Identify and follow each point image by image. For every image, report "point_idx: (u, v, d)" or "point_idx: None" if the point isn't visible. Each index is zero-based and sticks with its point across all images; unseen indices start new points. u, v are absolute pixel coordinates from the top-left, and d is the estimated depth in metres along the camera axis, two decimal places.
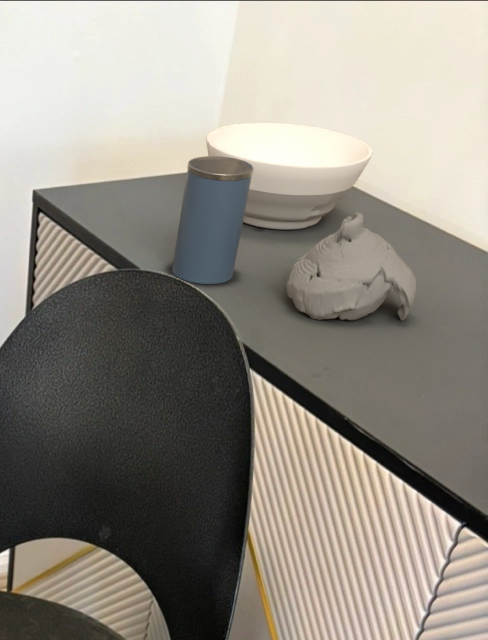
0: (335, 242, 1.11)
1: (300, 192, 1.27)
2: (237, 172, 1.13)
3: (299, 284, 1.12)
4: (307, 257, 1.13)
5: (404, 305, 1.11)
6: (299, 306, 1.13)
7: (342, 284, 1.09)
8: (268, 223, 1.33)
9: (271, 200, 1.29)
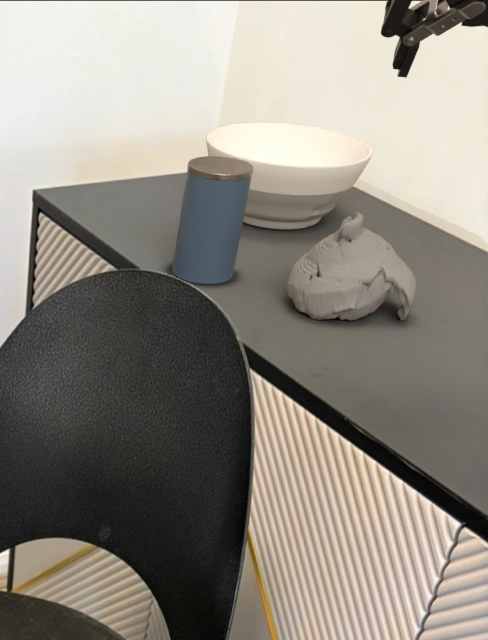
0: (335, 242, 1.11)
1: (300, 192, 1.27)
2: (237, 172, 1.13)
3: (299, 284, 1.12)
4: (307, 257, 1.13)
5: (404, 305, 1.11)
6: (299, 306, 1.13)
7: (342, 284, 1.09)
8: (268, 223, 1.33)
9: (271, 200, 1.29)
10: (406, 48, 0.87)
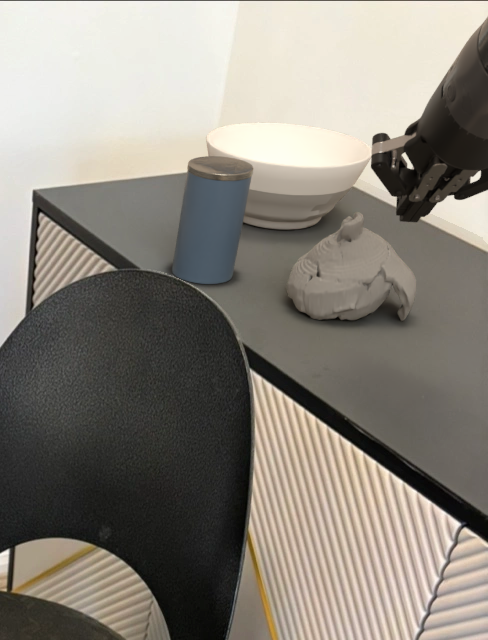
0: (335, 242, 1.11)
1: (300, 192, 1.27)
2: (237, 172, 1.13)
3: (299, 284, 1.12)
4: (307, 257, 1.13)
5: (404, 305, 1.11)
6: (299, 306, 1.13)
7: (342, 284, 1.09)
8: (268, 223, 1.33)
9: (271, 200, 1.29)
10: (410, 201, 0.95)
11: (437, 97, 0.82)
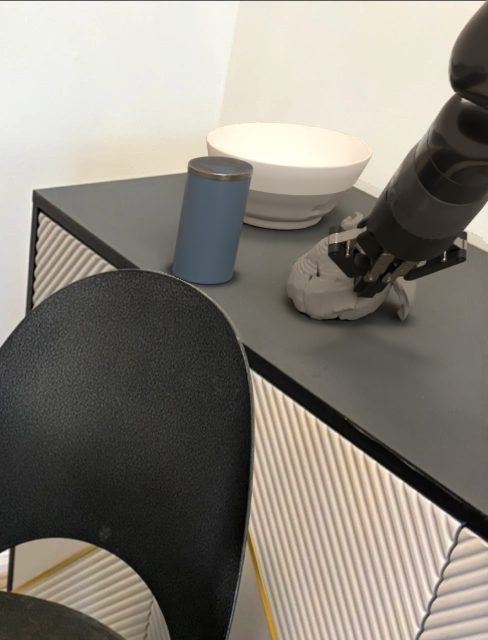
0: None
1: (300, 192, 1.27)
2: (237, 172, 1.13)
3: (299, 284, 1.12)
4: (307, 257, 1.13)
5: (404, 305, 1.11)
6: (299, 305, 1.13)
7: (342, 284, 1.09)
8: (268, 223, 1.33)
9: (271, 200, 1.29)
10: None
11: (383, 200, 0.93)
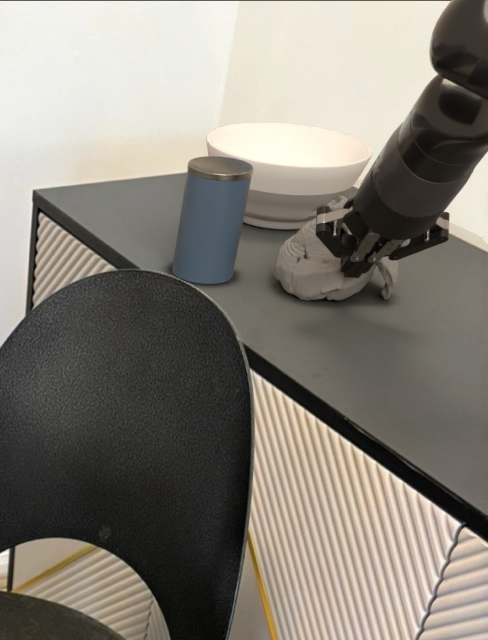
0: None
1: (300, 192, 1.27)
2: (237, 172, 1.13)
3: (287, 266, 1.16)
4: (293, 240, 1.16)
5: (388, 285, 1.15)
6: (288, 287, 1.17)
7: (329, 265, 1.13)
8: (268, 223, 1.33)
9: (271, 200, 1.29)
10: (352, 261, 1.10)
11: (368, 180, 0.97)
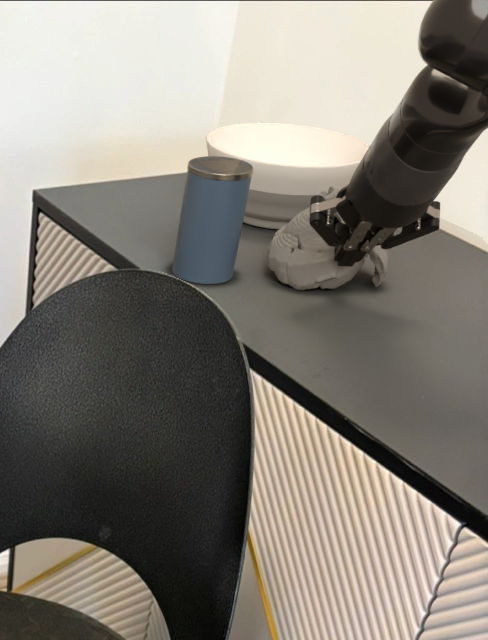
0: None
1: (300, 192, 1.27)
2: (237, 172, 1.13)
3: (281, 257, 1.18)
4: (286, 231, 1.19)
5: (379, 272, 1.18)
6: (282, 277, 1.19)
7: (324, 255, 1.16)
8: (268, 223, 1.33)
9: (271, 200, 1.29)
10: (345, 250, 1.12)
11: (360, 169, 1.00)
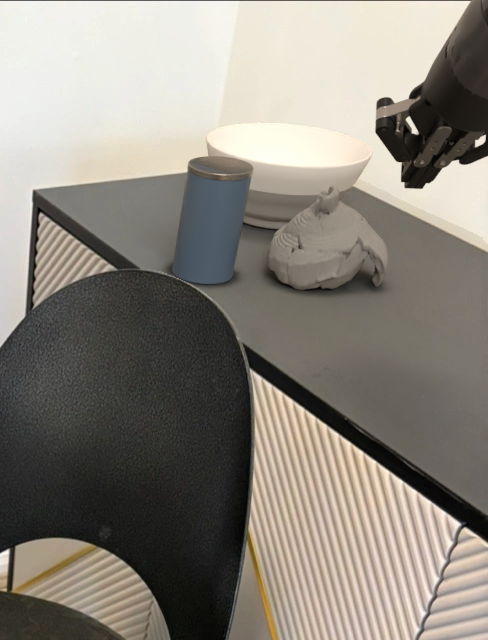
0: (313, 215, 1.17)
1: (300, 192, 1.27)
2: (237, 172, 1.13)
3: (281, 257, 1.18)
4: (286, 231, 1.19)
5: (379, 272, 1.18)
6: (283, 277, 1.19)
7: (324, 255, 1.16)
8: (268, 223, 1.33)
9: (271, 200, 1.29)
10: (415, 167, 0.95)
11: (441, 58, 0.82)
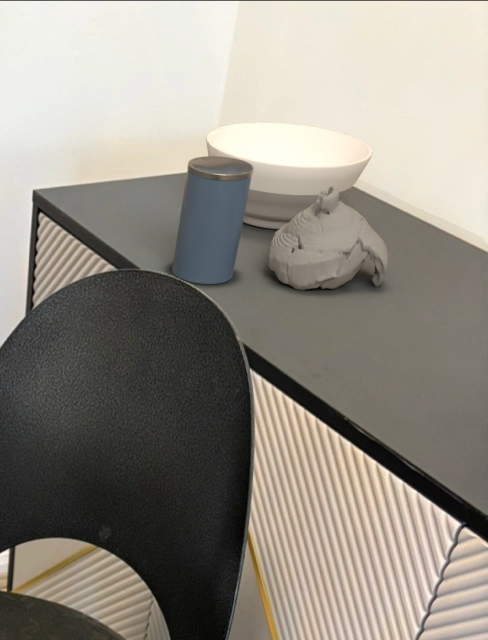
0: (313, 215, 1.17)
1: (300, 192, 1.27)
2: (237, 172, 1.13)
3: (281, 257, 1.18)
4: (286, 231, 1.19)
5: (379, 272, 1.18)
6: (283, 277, 1.19)
7: (324, 255, 1.16)
8: (268, 223, 1.33)
9: (271, 200, 1.29)
10: None
11: None
